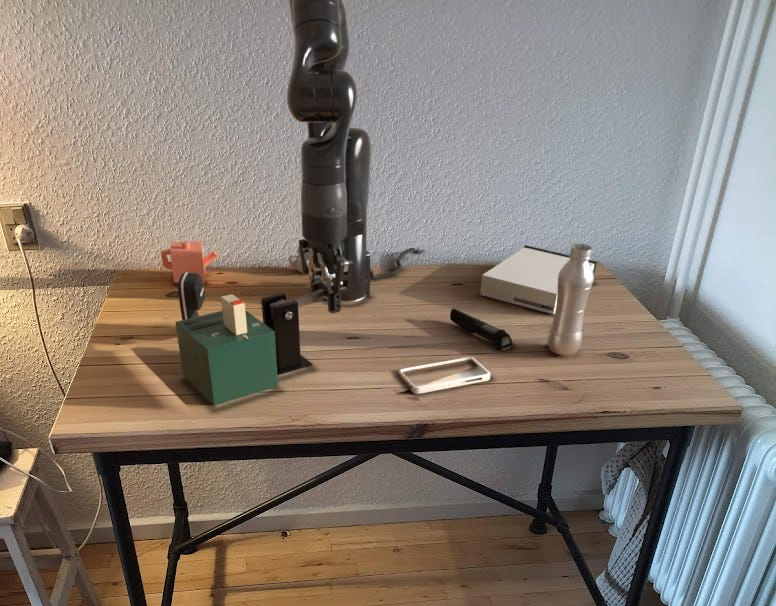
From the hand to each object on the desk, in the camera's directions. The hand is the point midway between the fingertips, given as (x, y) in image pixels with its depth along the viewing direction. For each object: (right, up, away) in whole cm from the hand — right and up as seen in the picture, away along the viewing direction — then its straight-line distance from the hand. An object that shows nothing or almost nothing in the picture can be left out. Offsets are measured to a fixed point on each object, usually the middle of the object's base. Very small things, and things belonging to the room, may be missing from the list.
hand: (325, 306), depth 137 cm
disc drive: (+44, +13, +34) cm, 58 cm away
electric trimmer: (+29, -2, +15) cm, 33 cm away
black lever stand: (-8, -11, +2) cm, 13 cm away
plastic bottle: (+45, -6, +10) cm, 46 cm away
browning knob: (-14, -7, -12) cm, 20 cm away
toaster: (-16, -15, -4) cm, 22 cm away
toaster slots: (-18, -5, -9) cm, 21 cm away
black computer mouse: (-26, -2, +11) cm, 28 cm away
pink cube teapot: (-32, +15, +33) cm, 48 cm away
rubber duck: (-8, +18, +38) cm, 43 cm away
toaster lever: (-4, -1, -3) cm, 5 cm away
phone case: (+21, -13, 0) cm, 25 cm away
